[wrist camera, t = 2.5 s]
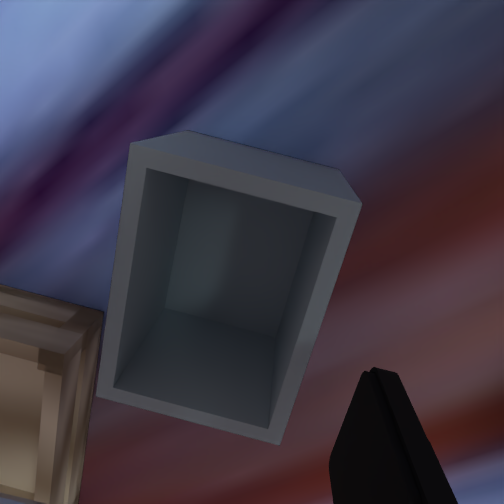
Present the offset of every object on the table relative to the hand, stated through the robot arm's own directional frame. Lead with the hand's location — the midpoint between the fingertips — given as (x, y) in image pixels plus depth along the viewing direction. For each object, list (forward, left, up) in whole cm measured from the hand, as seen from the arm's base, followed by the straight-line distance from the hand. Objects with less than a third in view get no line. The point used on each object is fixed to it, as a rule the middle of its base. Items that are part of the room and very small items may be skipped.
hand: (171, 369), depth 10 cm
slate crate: (-1, +1, -8) cm, 8 cm away
